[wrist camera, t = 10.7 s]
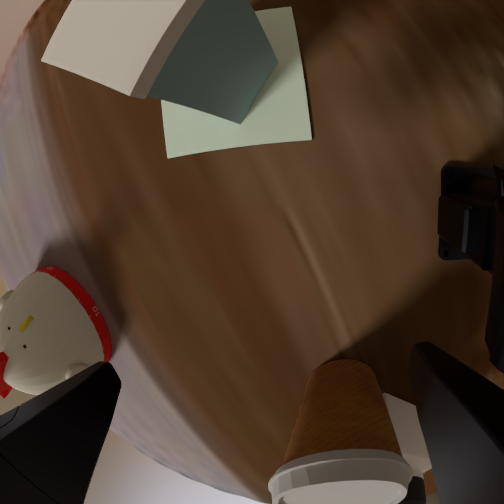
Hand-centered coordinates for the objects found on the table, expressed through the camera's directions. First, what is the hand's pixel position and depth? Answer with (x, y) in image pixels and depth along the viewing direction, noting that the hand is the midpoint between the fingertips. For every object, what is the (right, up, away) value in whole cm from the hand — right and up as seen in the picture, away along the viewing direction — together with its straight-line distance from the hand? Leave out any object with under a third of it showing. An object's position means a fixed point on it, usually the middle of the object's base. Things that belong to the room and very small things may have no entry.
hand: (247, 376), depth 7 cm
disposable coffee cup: (+8, -8, +16) cm, 20 cm away
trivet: (-1, +15, +9) cm, 18 cm away
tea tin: (-2, +15, +9) cm, 18 cm away
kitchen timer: (-22, -5, +21) cm, 31 cm away
